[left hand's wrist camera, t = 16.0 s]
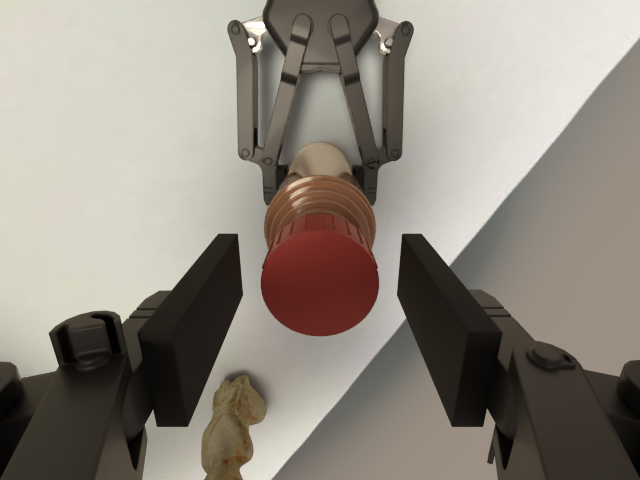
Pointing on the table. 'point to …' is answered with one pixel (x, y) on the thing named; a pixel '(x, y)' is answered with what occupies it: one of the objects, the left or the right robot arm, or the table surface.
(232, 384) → the sculpture
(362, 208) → the bottle
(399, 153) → the right robot arm
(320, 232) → the cap
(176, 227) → the table surface
